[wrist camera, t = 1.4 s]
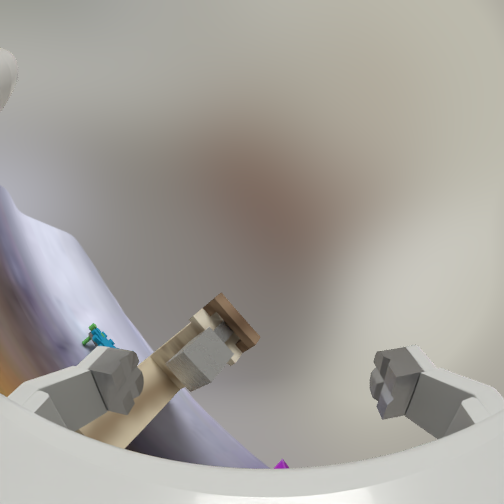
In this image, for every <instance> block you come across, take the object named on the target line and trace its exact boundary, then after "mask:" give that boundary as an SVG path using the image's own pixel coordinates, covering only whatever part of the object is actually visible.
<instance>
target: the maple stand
mask: <svg viewBox="0 0 504 504" xmlns="http://www.w3.org/2000/svg"><path fill="white" fill-rule="evenodd" d="M189 320H190V322H191V323H189V324H188V325H187V326H186V327H185V328H183V329H182V330H181V331H180V332H178V333H177V334H176V335H175V336H174V337H172V338H171V339H170V340H169V341H168V342H166V343H165V344H164V345H163V346H161V347H160V348H159V349H158V350H156V351H155V352H154V353H153V354H151V355H150V356H149V357H148V358H147V359H145V360H144V361H143V362H142V363H140V364H139V365H138V366H137V367H138V368H139V369H140V370H141V371H142V374H143V377H144V386H143V391H142V392H141V394H140V396H138V397H136V398H134V402H135V404H134V406H133V407H132V409H131V411H130V412H129V414H128V415H124V414H119V413H115V412H111V411H107V412H106V413H105V414H103V415H102V416H100V417H98V418H97V419H95V420H93V421H92V422H90V423H88V424H87V425H85V426H83V427H82V428H80V429H78V430H77V431H75V432H77V433H79V434H82V435H84V436H87V437H89V438H92V439H95V440H98V441H101V442H104V443H107V444H110V445H113V446H116V447H120V448H123V449H125V448H126V447H127V446H128V445H129V443H130V442H131V441H132V440H133V439H134V438H135V437H136V436H137V435H138V434H139V433H140V432H141V431H142V430H143V429H144V428H145V427H146V426H147V425H148V424H149V422H150V421H151V420H152V419H153V418H154V417H155V416H156V415H157V414H158V413H159V412H160V411H161V410H162V409H163V407H164V406H165V405H166V404H167V403H168V402H169V401H170V400H171V399H172V398H173V397H174V395H175V394H176V393H177V392H178V391H179V390H180V389H182V388H184V387H185V386H184V384H183V383H182V382H181V381H180V380H179V379H178V378H177V377H176V376H175V375H174V374H173V373H172V372H171V371H170V369H169V368H168V367H167V366H166V365H165V364H166V363H167V362H168V361H169V360H170V359H171V358H172V357H173V356H174V355H175V354H177V353H178V352H179V351H180V350H181V349H182V348H183V347H184V346H185V345H186V344H187V343H188V342H189V341H191V340H192V339H193V338H195V337H196V336H197V335H199V334H200V333H201V332H203V331H204V330H206V329H207V328H208V327H210V328H211V329H212V330H214V329H215V328H216V327H217V326H218V325H219V324H220V323H221V322H222V321H223V320H224V321H225V322H226V323H227V325H228V326H229V327H230V328H231V329H232V330H233V331H234V333H233V334H232V335H231V336H230V337H229V338H228V339H227V341H226V342H225V344H226V346H227V347H228V348H229V349H230V350H231V351H232V352H233V353H234V355H233V356H232V357H231V359H230V360H229V361H228V362H227V363H228V364H229V365H230V366H231V365H233V364H235V363H236V362H237V360H238V359H239V357H240V356H241V354H242V353H243V352H245V351H246V350H248V349H250V348H251V347H253V346H255V345H256V343H257V342H258V340H259V339H260V336H259V335H258V334H257V333H256V332H255V331H254V329H253V328H252V327H251V326H250V325H249V324H248V323H247V322H246V320H245V319H244V318H243V317H242V316H241V315H240V314H239V313H238V311H237V310H236V309H235V308H234V307H233V306H232V304H231V303H230V302H229V301H228V300H227V299H226V297H225V296H224V295H223V294H222V293H220V294H219V295H218V296H216V297H215V298H214V299H213V300H212V301H210V302H209V303H208V304H207V305H206V306H205V307H203V308H202V309H201V310H200V311H199V312H197V313H196V314H195V315H194V316H193V317H191V318H190V319H189Z"/></svg>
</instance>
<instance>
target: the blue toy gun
mask: <svg viewBox="0 0 504 504" xmlns="http://www.w3.org/2000/svg"><path fill="white" fill-rule="evenodd" d="M89 329H90V330H91V332H90V333H89V337H87V338H86V339H85V340H84V341H83V342H82V343H83V345H85V344H86V343H88V342H89V341H90V340H91V339H92V341H93V342H94V344H95V345H96V347H97V346H105V347H110V348H116V347H115V346H113V345H114V342H113V341H112V340H111V339H110V340H107V338H106V337H107V335H106V334H105V333H104V332H102V333H101V331H100V330H99V329H98V328H97V327H96V325H95V324H94V323H93V324H92V325H91V326H90V327H89ZM117 349H119V348H117Z"/></svg>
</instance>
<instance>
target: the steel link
mask: <svg viewBox="0 0 504 504" xmlns="http://www.w3.org/2000/svg"><path fill="white" fill-rule="evenodd" d="M233 333H234V331H233V330H232V329H231V328H230V327H229V326H228V325H227V323H226V322H225V321H224V320H223V321H222V322H221V323H220V324H219V325H218V326H217V327H216V328H215V329H214V330H212V329H211V328H210V327H208V328H207V329H206V330H204V331H203V332H201V333H200V334H199V335H197V336H196V337H195V338H193V339H192V340H191V341H189V342H188V343H187V344H186V345H185V346H184V347H183V348H182V349H181V350H180V351H179V352H178V353H177V354H175V355H174V356H173V357H172V358H171V359H170V360H169V361H168V362H167V363H166V364H165V365H166V366H167V367H168V368H169V369H170V371H171V372H172V373H173V374H174V375H175V376H176V377H177V378H178V379H179V380H180V381H181V382H182V383H183V384H184V386H185V387H186V388H187V389H189V391H193V390H196V389H198V388H200V387H202V386H204V385H207V384H209V383H211V382H212V381H213V380H214V379H215V377H216V376H217V375H218V374H219V372H220V371H221V370H222V369H223V367H224V366H225V365H226V364H227V362H228V361H229V360H230V359H231V357H232V356H233V355H234V353H233V352H232V351H231V350H230V349H229V348H228V347H227V346H226V344H225V342H226V341H227V339H228V338H229V337H230V336H231V335H232V334H233Z"/></svg>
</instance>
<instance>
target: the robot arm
mask: <svg viewBox="0 0 504 504" xmlns="http://www.w3.org/2000/svg"><path fill="white" fill-rule="evenodd" d="M17 78H18V64H17V61H16V59H15V57H14V55H13V54H12V53H11V52H9V51H7V50H5V49H2V48H0V112H1V111H2V109H3V108H4V106H5V104H6V102H7V101H8V99H9V97H10V96H11V94H12V92H13V90H14V88H15V85H16V82H17ZM138 363H139V360H138V357H137V354H136V353H135V352H134V351H129V350H123V349H117V348H110V347H105V346H97V347H96V348H95V349H94V350H93V351H92V352H91V353H90V354H89V355H88V356H87V357H86V358H85V359H83V360H82V361H81V362H80V363H79V364H78V365H77V366H76V367H75V366H71V367H69V368H66V369H63V370H60V371H57V372H54V373H51V374H48V375H45V376H42V377H38V378H35V379H32V380H29V381H26V382H24V383H22V384H21V385H20V386H19V387H18V388H17V389H16V390H15V391H14V392H12V393H11V394H10V395H9V396H8V397H5V396H4V395H2V394H1V393H0V504H504V398H503V397H502V396H501V395H500V394H499V393H498V391H497V390H496V389H495V388H494V387H492V386H489V385H486V384H483V383H481V382H478V381H475V380H473V379H470V378H467V377H464V376H462V375H459V374H456V373H454V372H451V371H449V370H446V369H443V368H437V367H436V366H435V365H434V364H433V362H432V361H431V360H430V359H429V358H428V356H427V355H426V354H425V353H424V352H423V351H422V349H421V348H420V347H419V346H417V345H411V346H407V347H403V348H397V349H391V350H385V351H378V352H377V353H376V355H375V358H374V364H375V366H376V368H375V369H374V370H373V371H372V373H371V377H370V391H371V394H372V397H373V398H374V399H376V400H377V401H378V404H377V408H378V411H379V413H380V415H381V417H382V419H388V418H393V417H398V416H403V415H405V416H406V417H407V418H408V419H410V420H411V421H413V422H414V423H415V424H417V425H419V426H420V427H421V428H423V429H424V430H425V431H427V432H428V433H430V434H431V435H433V436H434V437H436V438H437V439H438V440H435V441H432V442H429V443H427V444H424V445H420V446H417V447H414V448H410V449H407V450H403V451H400V452H396V453H392V454H388V455H384V456H380V457H375V458H370V459H366V460H360V461H355V462H348V463H342V464H335V465H327V466H318V467H306V468H286V469H248V468H230V467H218V466H208V465H200V464H193V463H186V462H180V461H174V460H169V459H164V458H159V457H154V456H150V455H146V454H141V453H138V452H134V451H130V450H126V449H123V448H120V447H116V446H113V445H110V444H107V443H104V442H101V441H98V440H95V439H92V438H89V437H87V436H84V435H82V434H79V433H77V432H75V431H77V430H78V429H80V428H82V427H83V426H85V425H87V424H88V423H90V422H92V421H93V420H95V419H97V418H98V417H100V416H102V415H103V414H105V413H106V412H107V411H111V412H115V413H119V414H124V415H128V414H129V412H130V411H131V409H132V407H133V406H134V404H135V402H134V398H136V397H138V396H140V394H141V392H142V391H143V386H144V377H143V374H142V371H141V370H140V369H139V368H138V367H137V365H138Z"/></svg>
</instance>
